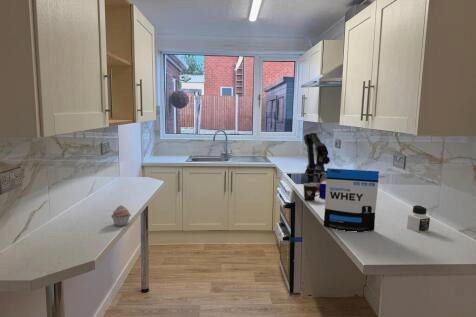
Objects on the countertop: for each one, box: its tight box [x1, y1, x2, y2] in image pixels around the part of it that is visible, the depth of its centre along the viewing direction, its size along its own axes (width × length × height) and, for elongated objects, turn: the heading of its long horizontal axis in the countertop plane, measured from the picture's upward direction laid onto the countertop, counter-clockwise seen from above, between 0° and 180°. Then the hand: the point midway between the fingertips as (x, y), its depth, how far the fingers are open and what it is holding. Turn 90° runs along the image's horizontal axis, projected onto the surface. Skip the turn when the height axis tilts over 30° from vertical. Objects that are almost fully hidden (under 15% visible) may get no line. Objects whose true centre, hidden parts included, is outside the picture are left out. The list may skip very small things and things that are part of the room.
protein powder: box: [323, 167, 380, 233], centre depth 171 cm, size 10×24×30 cm, turn 77°
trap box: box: [311, 182, 321, 193], centre depth 252 cm, size 15×18×6 cm
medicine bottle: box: [406, 204, 431, 233], centre depth 173 cm, size 7×7×12 cm
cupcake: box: [110, 204, 132, 227], centre depth 172 cm, size 9×9×10 cm
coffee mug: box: [303, 182, 323, 202], centre depth 223 cm, size 12×9×10 cm
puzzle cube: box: [318, 181, 326, 200], centre depth 232 cm, size 10×10×10 cm
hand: (318, 182), depth 256 cm, fingers closed
